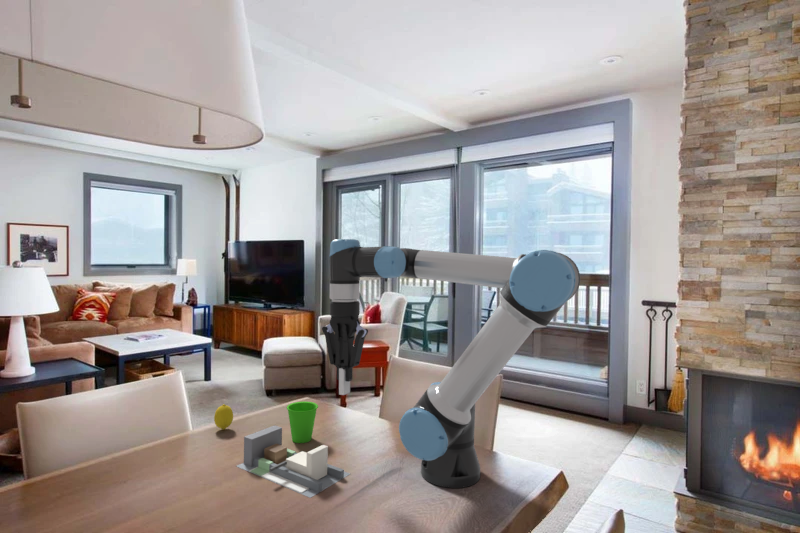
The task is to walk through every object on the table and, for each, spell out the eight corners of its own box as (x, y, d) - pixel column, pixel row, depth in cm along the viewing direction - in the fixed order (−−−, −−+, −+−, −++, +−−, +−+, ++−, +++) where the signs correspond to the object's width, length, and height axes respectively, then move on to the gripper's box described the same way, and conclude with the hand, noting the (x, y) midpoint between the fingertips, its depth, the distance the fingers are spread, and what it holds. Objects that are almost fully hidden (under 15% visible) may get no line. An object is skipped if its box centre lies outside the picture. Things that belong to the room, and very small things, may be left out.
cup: (313, 450, 129) (314, 411, 128) (282, 449, 129) (282, 410, 129) (320, 437, 138) (320, 401, 137) (290, 437, 138) (291, 400, 138)
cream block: (327, 474, 111) (327, 446, 111) (294, 493, 102) (295, 462, 102) (302, 465, 116) (302, 437, 116) (268, 481, 107) (269, 452, 107)
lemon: (236, 429, 143) (237, 403, 143) (221, 434, 138) (221, 408, 138) (225, 425, 146) (225, 400, 146) (210, 430, 141) (210, 405, 141)
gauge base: (350, 478, 113) (351, 445, 113) (310, 503, 101) (310, 466, 101) (278, 451, 127) (278, 422, 127) (235, 470, 115) (236, 438, 115)
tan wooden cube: (286, 462, 118) (287, 447, 118) (274, 468, 115) (275, 452, 115) (276, 458, 120) (276, 443, 120) (264, 464, 117) (264, 448, 117)
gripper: (374, 300, 115) (374, 393, 115) (333, 298, 122) (333, 386, 122) (357, 302, 109) (357, 401, 109) (314, 300, 115) (314, 393, 115)
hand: (344, 393), depth 115 cm, fingers closed
